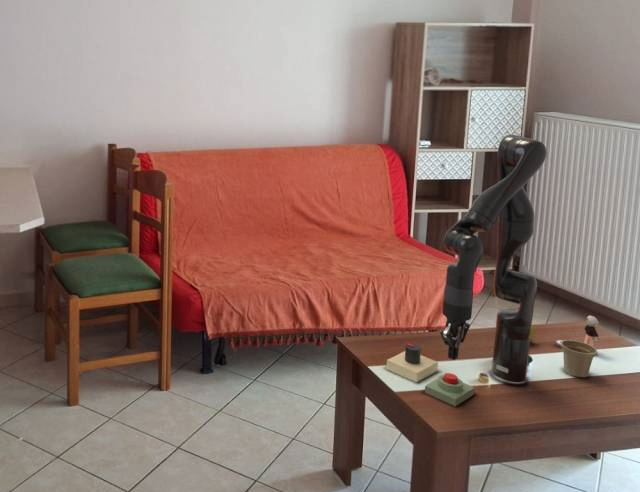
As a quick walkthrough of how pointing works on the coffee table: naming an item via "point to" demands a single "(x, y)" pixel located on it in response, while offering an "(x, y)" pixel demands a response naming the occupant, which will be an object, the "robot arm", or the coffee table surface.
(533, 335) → the lemon
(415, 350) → the hob knob
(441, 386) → the switch box
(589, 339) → the grandmother figurine
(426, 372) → the panel
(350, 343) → the coffee table surface
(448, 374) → the button
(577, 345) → the flower pot
